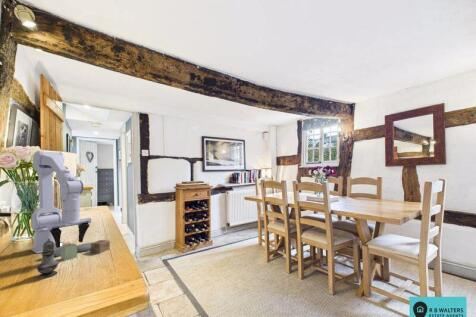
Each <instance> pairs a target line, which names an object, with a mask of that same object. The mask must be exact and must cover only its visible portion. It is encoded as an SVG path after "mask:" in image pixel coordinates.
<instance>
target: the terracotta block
mask: <svg viewBox="0 0 476 317" xmlns="http://www.w3.org/2000/svg"><path fill="white" fill-rule="evenodd" d="M62 242H63V246H64V245H68V244H72V243H71V242H70V241H69V240H68V241H62Z"/></svg>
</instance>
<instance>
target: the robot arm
mask: <svg viewBox="0 0 476 317" xmlns="http://www.w3.org/2000/svg"><path fill="white" fill-rule="evenodd" d="M64 162H65V156H64V154H63V152H57V151H56V152H55V151H54V152H53V151H41V150H37V151H35V152H34V154H33V157H32V167H33V171H36V172H37V176H38V197H39V208H37V209H36V210H35V211H33V213H32V214H31V219H30V228H31V230H32V231H35V232H34V234H33V247H31V248H30V250H31V252H34V253H36V254H41V253H43V244H44V243H45V242H47V241H48V239H50V241H53V242H54V243H55V244H56V247H57V248H59V247H60V242H61V235H62V228H68V227H73V226H77V228H78V239H77V240H78V242H79V243H84V242H83V241H84V238H85V235H86V233H87V231H88V229H89V227H90V224H92V217H87V218H80V205H81V201H80V200H81V195H82V193H83V191H84V183H83V181H82V180H81V179H76V177H75V175H74V173H73V172H72V171H71V170H70V169H67V168H66V166H65V164H64ZM54 172H55V175H54V176H55V179H56V181H57V182H58V185H59V186H60V187H59V193H60V199H61V200H62V202H61V204H62V205H61V206H62V207H61V209H59V208H58V207H55V206H54V204H55V202H54V186H53V185H54V184H53V173H54Z"/></svg>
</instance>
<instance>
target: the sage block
mask: <svg viewBox="0 0 476 317" xmlns="http://www.w3.org/2000/svg"><path fill="white" fill-rule="evenodd" d="M77 245H78V244H76V243H71V244H68V245H64V246H62V249H61V256H60V259H61V260H62V261H69V260H73V259H76V258H78V252H77Z"/></svg>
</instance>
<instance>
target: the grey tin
mask: <svg viewBox="0 0 476 317" xmlns="http://www.w3.org/2000/svg"><path fill="white" fill-rule="evenodd" d="M63 242H64V241H60V247H59V248H57V247H56V244H55V243H54V251H55V252H54V259H55V258H59V257H60V258H61V249H62V246H63Z"/></svg>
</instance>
